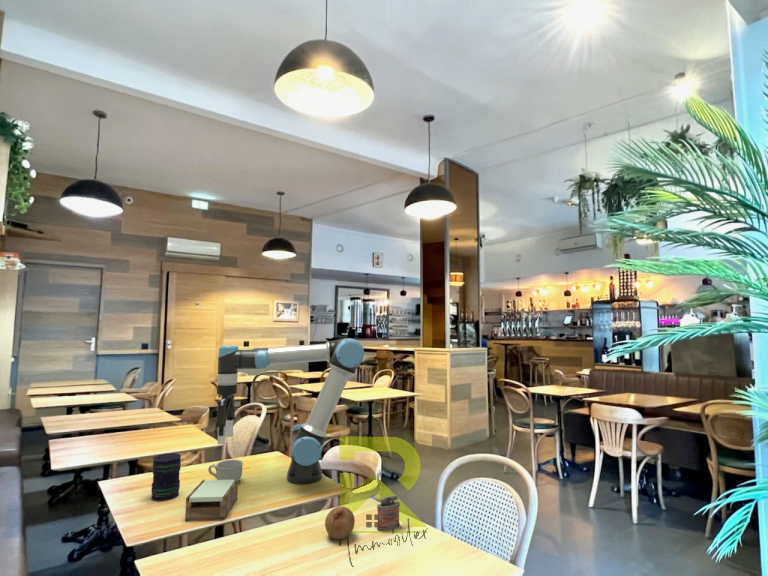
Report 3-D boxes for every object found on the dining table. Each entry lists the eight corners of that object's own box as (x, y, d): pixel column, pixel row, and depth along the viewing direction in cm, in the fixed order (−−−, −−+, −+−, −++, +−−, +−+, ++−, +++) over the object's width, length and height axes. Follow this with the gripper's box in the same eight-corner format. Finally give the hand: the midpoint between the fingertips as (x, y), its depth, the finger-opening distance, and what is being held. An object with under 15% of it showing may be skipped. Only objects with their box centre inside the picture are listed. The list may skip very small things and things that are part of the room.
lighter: (379, 532, 141) (379, 500, 142) (375, 527, 144) (375, 496, 145) (401, 527, 144) (401, 496, 145) (396, 523, 147) (397, 492, 148)
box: (202, 500, 166) (203, 479, 167) (237, 499, 167) (237, 478, 168) (185, 521, 148) (186, 497, 149) (224, 519, 149) (225, 496, 150)
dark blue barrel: (181, 490, 175) (183, 452, 177) (176, 500, 166) (178, 459, 167) (154, 492, 173) (156, 454, 174) (147, 502, 164) (149, 461, 165)
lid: (205, 484, 166) (205, 480, 166) (235, 483, 167) (235, 479, 167) (189, 502, 149) (189, 497, 149) (222, 501, 150) (222, 496, 150)
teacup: (246, 478, 190) (247, 459, 190) (235, 487, 179) (236, 467, 180) (215, 477, 191) (216, 458, 192) (203, 486, 180) (204, 466, 181)
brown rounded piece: (341, 552, 134) (340, 529, 130) (319, 536, 139) (318, 513, 135) (360, 530, 141) (360, 507, 137) (339, 515, 146) (338, 493, 142)
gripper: (225, 380, 187) (223, 433, 185) (208, 388, 163) (206, 448, 162) (243, 380, 187) (241, 433, 185) (229, 388, 164) (227, 448, 162)
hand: (225, 440), depth 173 cm, fingers open, 11 cm apart
